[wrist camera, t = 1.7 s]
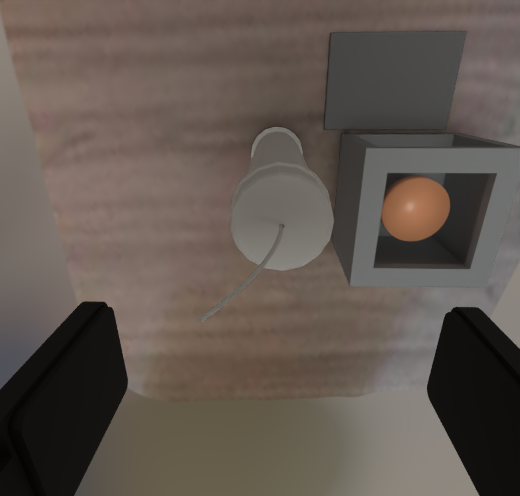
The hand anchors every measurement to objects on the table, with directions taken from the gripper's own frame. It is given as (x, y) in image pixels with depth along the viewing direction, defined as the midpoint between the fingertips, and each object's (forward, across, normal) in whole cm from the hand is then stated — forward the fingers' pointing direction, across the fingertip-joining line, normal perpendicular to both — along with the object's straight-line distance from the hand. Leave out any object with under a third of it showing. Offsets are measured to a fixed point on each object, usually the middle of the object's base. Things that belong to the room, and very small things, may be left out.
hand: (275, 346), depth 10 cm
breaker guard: (+32, -14, +4) cm, 35 cm away
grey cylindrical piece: (+33, 0, -1) cm, 33 cm away
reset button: (+28, -14, +4) cm, 31 cm away
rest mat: (+32, -12, -8) cm, 35 cm away
